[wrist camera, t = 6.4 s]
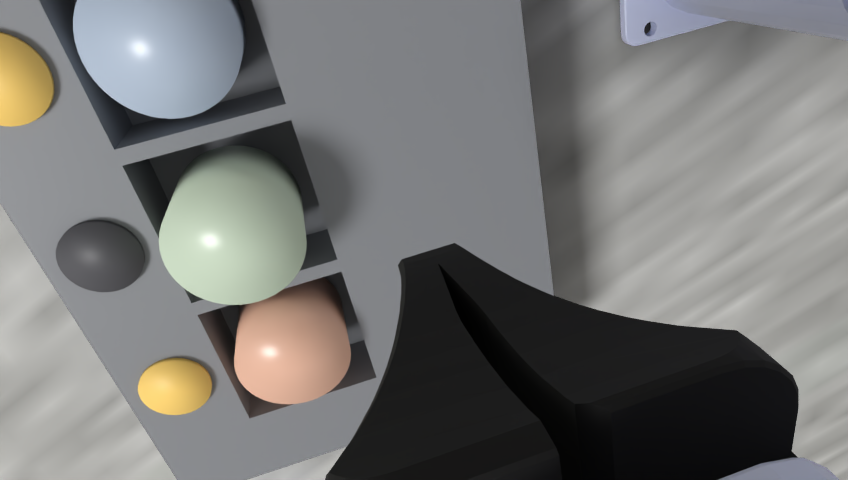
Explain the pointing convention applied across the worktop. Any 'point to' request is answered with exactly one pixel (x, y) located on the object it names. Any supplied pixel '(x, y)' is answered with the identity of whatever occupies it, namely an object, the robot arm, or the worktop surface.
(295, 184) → the button sage
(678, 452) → the robot arm
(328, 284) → the button terracotta
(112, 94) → the button slate
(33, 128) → the console
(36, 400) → the worktop surface
